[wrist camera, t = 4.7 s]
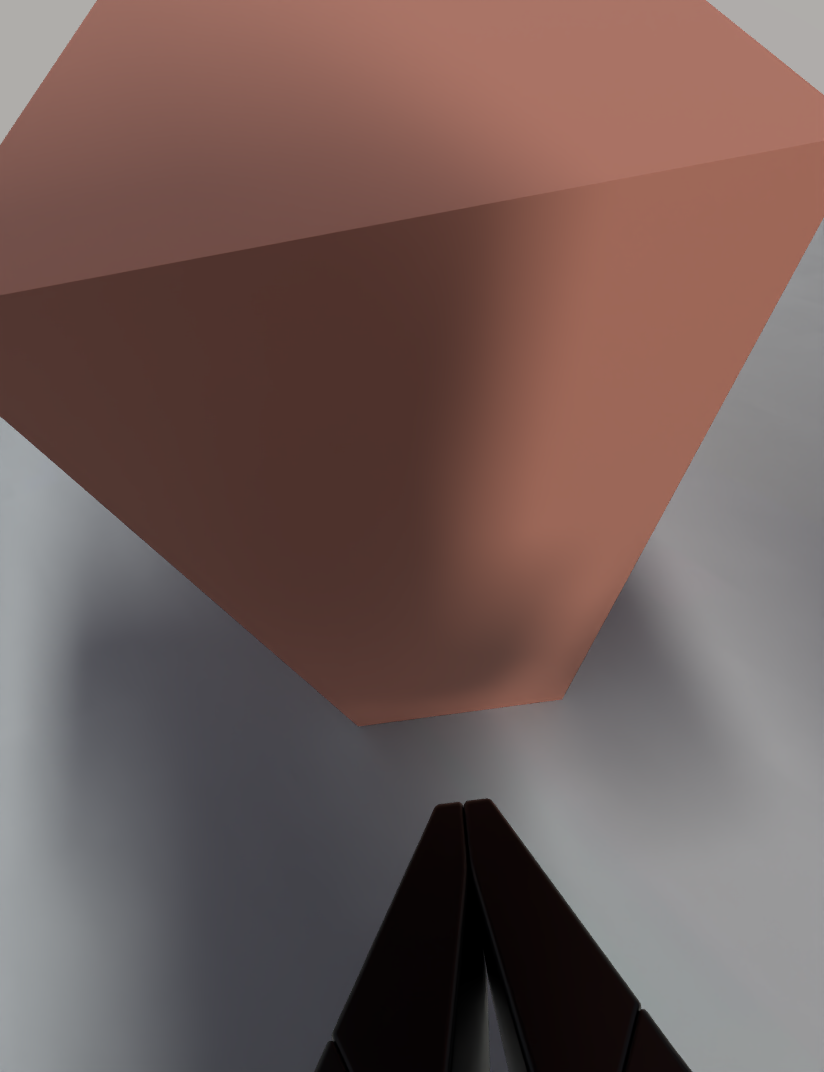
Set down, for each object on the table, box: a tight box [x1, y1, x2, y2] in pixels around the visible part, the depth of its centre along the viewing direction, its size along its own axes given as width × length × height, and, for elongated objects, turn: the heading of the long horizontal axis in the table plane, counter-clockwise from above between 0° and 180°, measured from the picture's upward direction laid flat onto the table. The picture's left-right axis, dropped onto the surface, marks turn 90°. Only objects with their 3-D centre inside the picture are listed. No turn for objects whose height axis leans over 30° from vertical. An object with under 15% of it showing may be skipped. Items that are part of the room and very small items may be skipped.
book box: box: [0, 0, 824, 726], centre depth 13 cm, size 14×6×14 cm, turn 6°
